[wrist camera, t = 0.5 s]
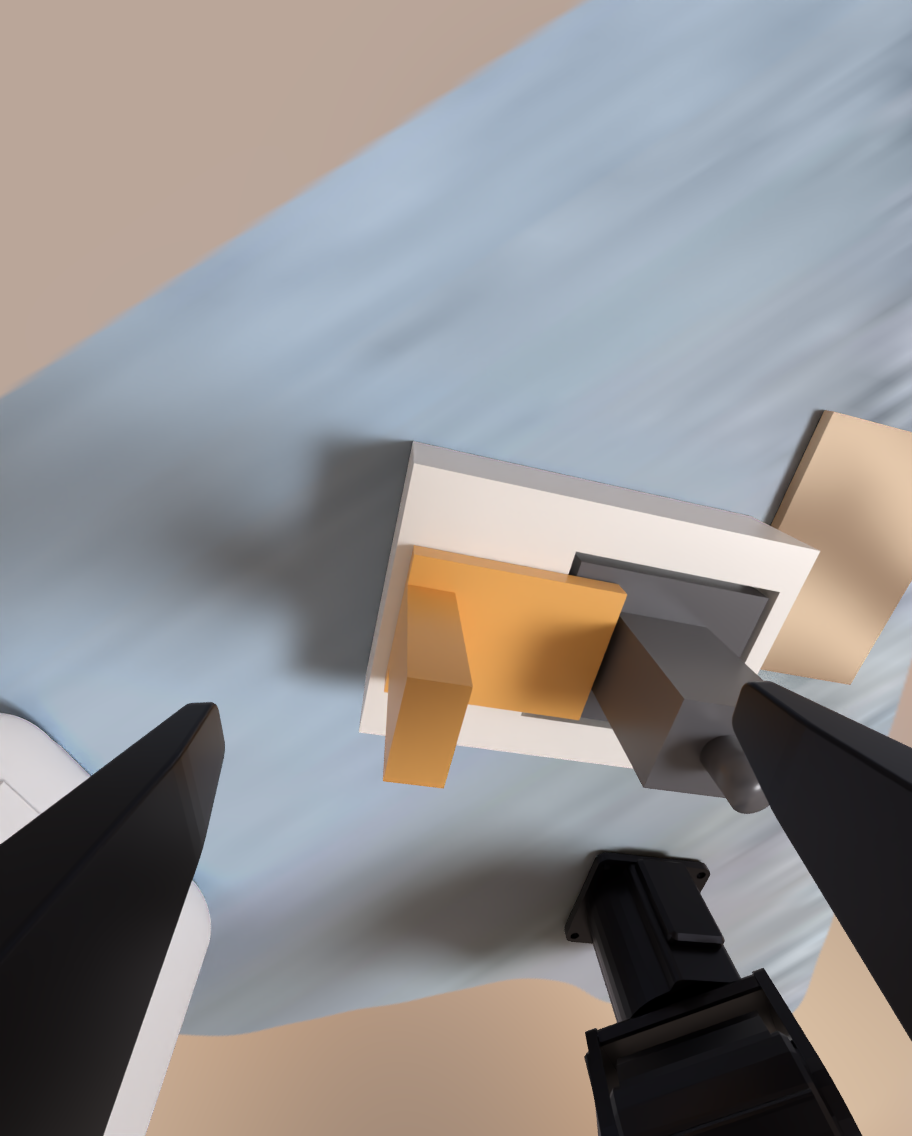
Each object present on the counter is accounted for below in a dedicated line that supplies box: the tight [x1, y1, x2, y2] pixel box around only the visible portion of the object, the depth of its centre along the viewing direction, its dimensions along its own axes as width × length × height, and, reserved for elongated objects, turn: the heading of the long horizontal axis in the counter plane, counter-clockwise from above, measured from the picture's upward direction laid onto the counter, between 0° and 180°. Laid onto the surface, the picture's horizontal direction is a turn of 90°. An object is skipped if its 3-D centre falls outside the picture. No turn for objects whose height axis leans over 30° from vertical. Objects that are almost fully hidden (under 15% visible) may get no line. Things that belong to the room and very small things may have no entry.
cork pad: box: [761, 410, 912, 685], centre depth 23 cm, size 11×7×1 cm, turn 167°
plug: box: [568, 552, 769, 814], centre depth 17 cm, size 6×7×8 cm
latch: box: [383, 545, 627, 788], centre depth 16 cm, size 5×7×6 cm
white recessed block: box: [359, 441, 820, 768], centre depth 21 cm, size 10×14×4 cm
